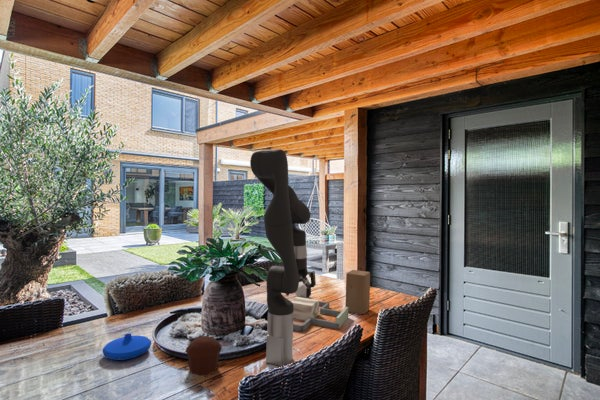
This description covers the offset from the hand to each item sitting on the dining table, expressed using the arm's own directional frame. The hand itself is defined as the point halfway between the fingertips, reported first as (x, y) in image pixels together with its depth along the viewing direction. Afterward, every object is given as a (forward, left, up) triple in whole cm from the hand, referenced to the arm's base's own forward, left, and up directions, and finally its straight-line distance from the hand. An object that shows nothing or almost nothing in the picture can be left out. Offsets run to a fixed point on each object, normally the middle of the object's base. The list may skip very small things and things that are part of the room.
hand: (297, 296), depth 133 cm
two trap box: (+29, +2, -19) cm, 34 cm away
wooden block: (+49, -13, -19) cm, 54 cm away
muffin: (-32, +20, -19) cm, 42 cm away
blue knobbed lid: (-36, +51, -19) cm, 65 cm away
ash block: (+29, +9, -19) cm, 36 cm away
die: (+57, +22, -19) cm, 64 cm away
